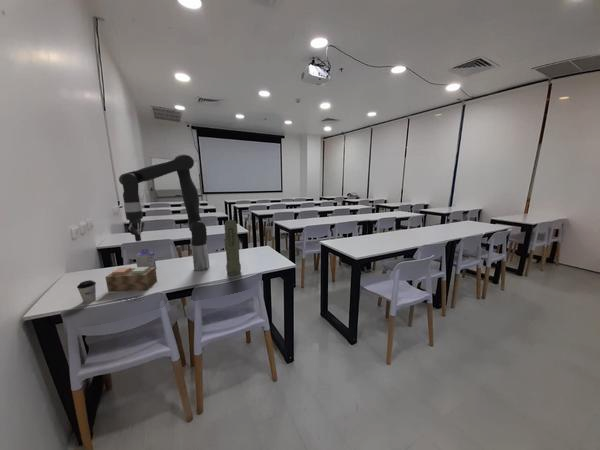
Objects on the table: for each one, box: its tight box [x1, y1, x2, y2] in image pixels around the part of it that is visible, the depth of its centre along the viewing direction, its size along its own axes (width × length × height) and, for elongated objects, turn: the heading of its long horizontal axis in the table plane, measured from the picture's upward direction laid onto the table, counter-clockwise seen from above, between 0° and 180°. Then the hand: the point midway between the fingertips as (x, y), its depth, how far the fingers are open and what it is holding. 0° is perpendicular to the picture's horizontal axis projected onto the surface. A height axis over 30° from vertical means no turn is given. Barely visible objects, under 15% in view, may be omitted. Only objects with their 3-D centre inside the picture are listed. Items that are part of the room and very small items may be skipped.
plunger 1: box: [111, 267, 132, 275], centre depth 128 cm, size 6×6×10 cm
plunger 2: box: [132, 267, 150, 274], centre depth 129 cm, size 6×6×10 cm
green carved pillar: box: [223, 219, 242, 277], centre depth 144 cm, size 9×12×35 cm
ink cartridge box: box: [135, 248, 157, 269], centre depth 151 cm, size 10×6×14 cm, turn 116°
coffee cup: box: [76, 279, 97, 304], centre depth 114 cm, size 7×7×10 cm
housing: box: [105, 267, 158, 293], centre depth 129 cm, size 20×11×9 cm, turn 96°
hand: (138, 240), depth 128 cm, fingers closed
